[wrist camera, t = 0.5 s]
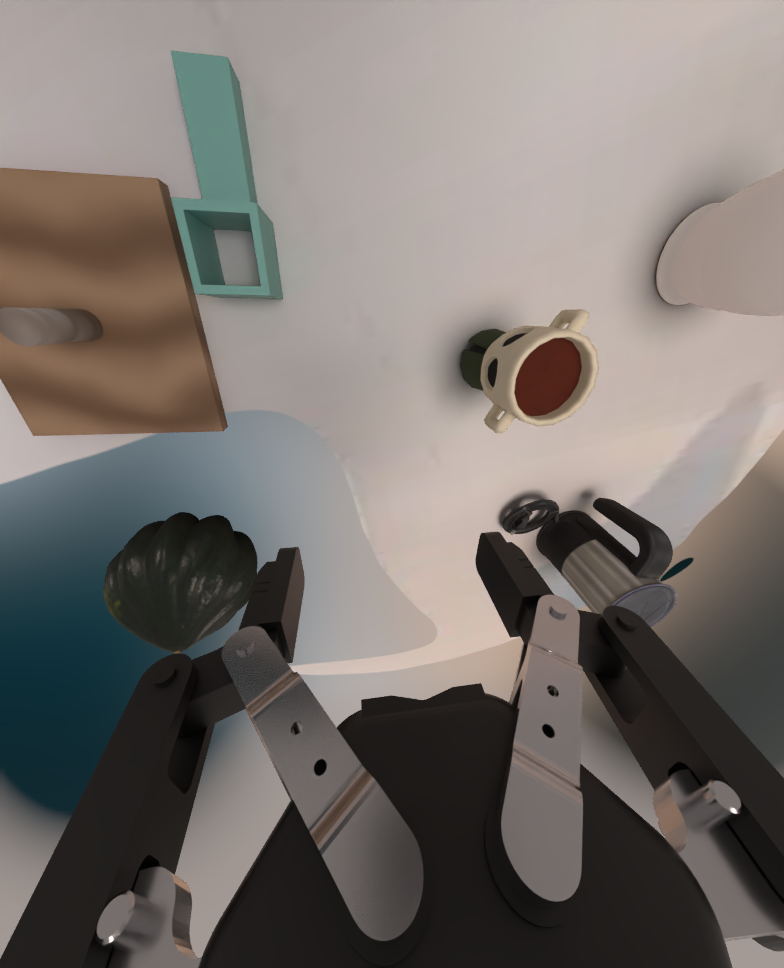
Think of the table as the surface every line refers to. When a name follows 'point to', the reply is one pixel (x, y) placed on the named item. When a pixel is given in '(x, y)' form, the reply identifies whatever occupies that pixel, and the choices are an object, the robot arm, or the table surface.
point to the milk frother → (604, 556)
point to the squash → (180, 580)
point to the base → (100, 308)
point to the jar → (730, 254)
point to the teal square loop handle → (220, 179)
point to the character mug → (533, 370)
